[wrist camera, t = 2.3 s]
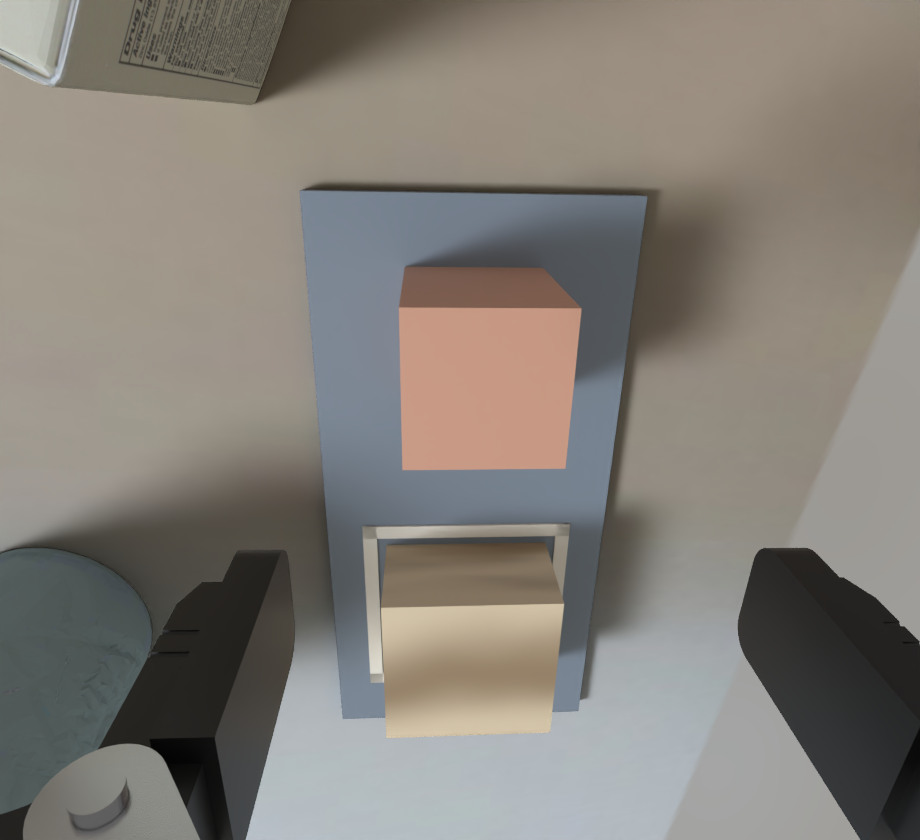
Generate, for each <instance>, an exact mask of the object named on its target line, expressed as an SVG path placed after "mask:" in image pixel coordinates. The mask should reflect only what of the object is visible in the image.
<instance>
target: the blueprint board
mask: <svg viewBox="0 0 920 840" xmlns="http://www.w3.org/2000/svg"><path fill="white" fill-rule="evenodd" d="M300 201H301V213H302V226H303V238H304V250H305V262H306V275H307V287H308V299H309V311H310V323H311V336H312V348H313V360H314V372H315V385H316V397H317V409H318V421H319V434H320V446H321V458H322V470H323V483H324V495H325V507H326V519H327V531H328V544H329V556H330V568H331V580H332V593H333V605H334V617H335V629H336V642H337V654H338V666H339V678H340V691H341V703H342V715H343V719H355V718H386V716H385V692H384V669H383V645H382V621H381V602H382V590H383V579H384V568H385V557H386V546H387V545H418V544H478V543H538V542H545V543H546V546H547V549H548V552H549V556H550V559H551V562H552V566H553V569H554V572H555V575H556V579H557V582H558V585H559V588H560V592H561V595H562V598H563V602H564V610H563V619H562V628H561V637H560V646H559V655H558V664H557V673H556V682H555V691H554V700H553V709H552V712H570V711H578V709H579V701H580V694H581V687H582V679H583V672H584V664H585V657H586V649H587V642H588V635H589V627H590V620H591V612H592V605H593V597H594V590H595V583H596V575H597V568H598V560H599V553H600V545H601V538H602V531H603V523H604V516H605V508H606V501H607V493H608V486H609V479H610V471H611V464H612V456H613V449H614V441H615V434H616V427H617V419H618V412H619V404H620V397H621V389H622V382H623V375H624V367H625V360H626V352H627V345H628V338H629V330H630V323H631V315H632V308H633V300H634V293H635V286H636V278H637V271H638V263H639V256H640V248H641V241H642V234H643V226H644V219H645V211H646V204H647V196H644V195H616V194H554V193H492V192H429V191H367V190H305V189H303V190H300ZM405 267H509V268H544V269H545V270H546V271H547V273H548V274H549V275H550V276H551V277H552V278H553V279H554V280H555V281H556V282H557V283H558V284H559V285H560V286H561V287H562V288H563V289H564V290H565V291H566V293H567V294H568V295H569V296H570V297H571V298H572V299H573V300H574V301H575V302H576V303H577V304H578V305H579V306H580V307H581V308H582V309H581V319H580V329H579V339H578V349H577V359H576V369H575V379H574V389H573V399H572V409H571V419H570V429H569V439H568V449H567V459H566V469H482V470H402V430H401V384H400V338H399V303H400V296H401V289H402V282H403V275H404V268H405Z"/></svg>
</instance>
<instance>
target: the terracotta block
mask: <svg viewBox="0 0 920 840" xmlns="http://www.w3.org/2000/svg"><path fill="white" fill-rule="evenodd" d="M581 309H582V308H581V307H580V306H579V305H578V304H577V303H576V302H575V301H574V300H573V299H572V298H571V297H570V296H569V295H568V294H567V293H566V291H565V290H564V289H563V288H562V287H561V286H560V285H559V284H558V283H557V282H556V281H555V280H554V279H553V278H552V277H551V276H550V275H549V274H548V273H547V271H546V270H545V269H544V268H509V267H405V268H404V275H403V282H402V289H401V296H400V303H399V338H400V384H401V430H402V470H482V469H566V459H567V449H568V439H569V429H570V419H571V409H572V399H573V389H574V379H575V369H576V359H577V349H578V339H579V329H580V319H581Z"/></svg>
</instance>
